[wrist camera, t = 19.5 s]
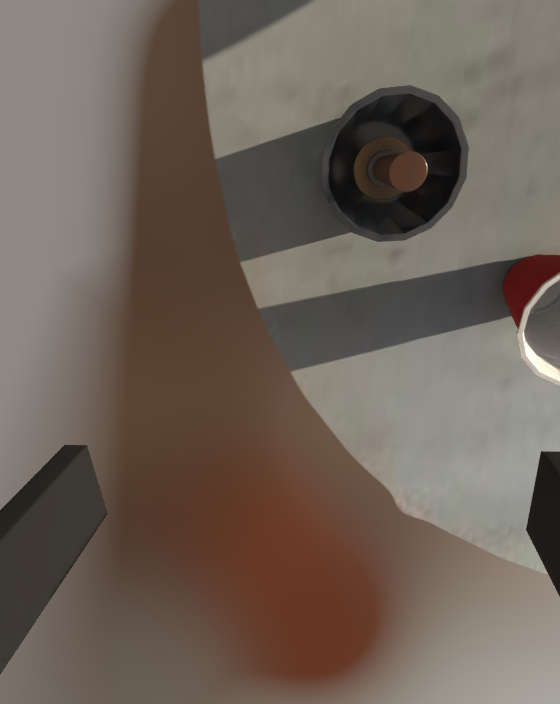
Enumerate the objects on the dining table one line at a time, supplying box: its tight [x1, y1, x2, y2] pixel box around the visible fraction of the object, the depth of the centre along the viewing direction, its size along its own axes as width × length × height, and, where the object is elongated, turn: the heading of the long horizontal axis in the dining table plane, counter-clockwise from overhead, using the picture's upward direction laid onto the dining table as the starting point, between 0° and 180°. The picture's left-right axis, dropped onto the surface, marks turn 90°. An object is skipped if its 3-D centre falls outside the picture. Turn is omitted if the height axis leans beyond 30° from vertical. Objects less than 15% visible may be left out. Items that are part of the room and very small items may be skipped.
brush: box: [353, 136, 427, 200], centre depth 32 cm, size 5×5×18 cm
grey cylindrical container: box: [321, 85, 469, 242], centre depth 36 cm, size 10×10×11 cm
